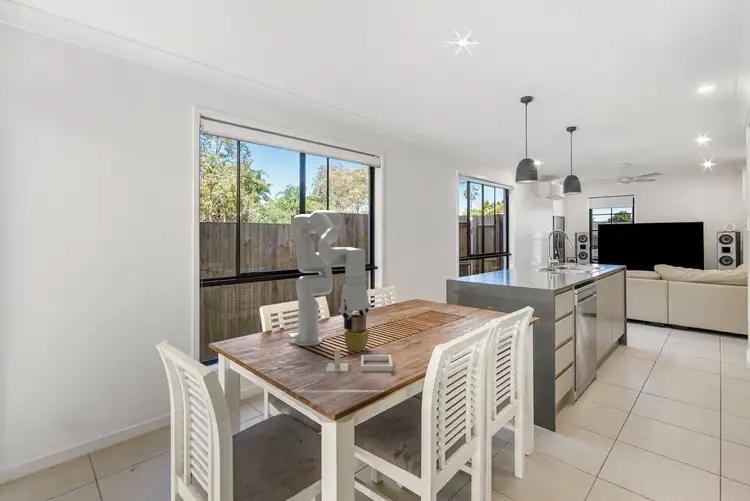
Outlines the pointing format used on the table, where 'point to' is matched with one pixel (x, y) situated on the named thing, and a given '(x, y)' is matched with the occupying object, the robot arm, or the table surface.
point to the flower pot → (356, 340)
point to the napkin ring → (357, 322)
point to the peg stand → (337, 363)
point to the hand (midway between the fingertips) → (355, 327)
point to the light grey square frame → (376, 367)
